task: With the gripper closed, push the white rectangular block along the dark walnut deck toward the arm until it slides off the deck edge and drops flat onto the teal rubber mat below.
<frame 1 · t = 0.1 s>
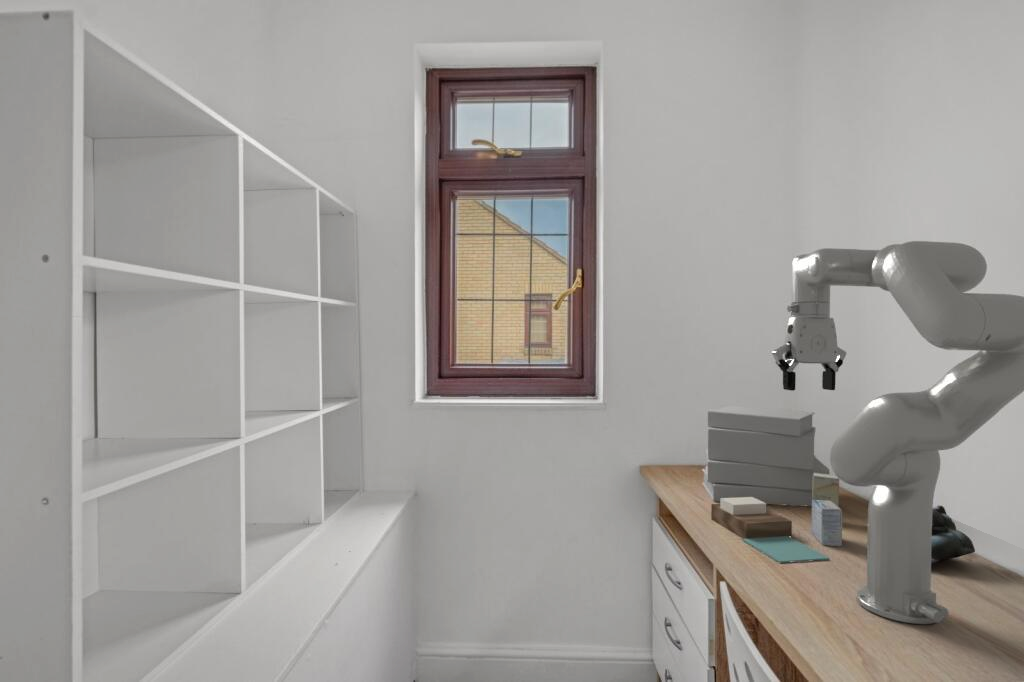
hand: (809, 389, 127), 37 cm above the table, tool pointing down, fingers open, 9 cm apart
medicine box: (826, 541, 138), on the table
skincare box: (824, 522, 153), on the table
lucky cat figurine: (924, 561, 127), on the table
book stack: (762, 495, 178), on the table
white rectangular block: (742, 505, 148), point 5 cm above the table, touching deck
deck: (749, 527, 147), on the table
mat: (783, 549, 132), on the table
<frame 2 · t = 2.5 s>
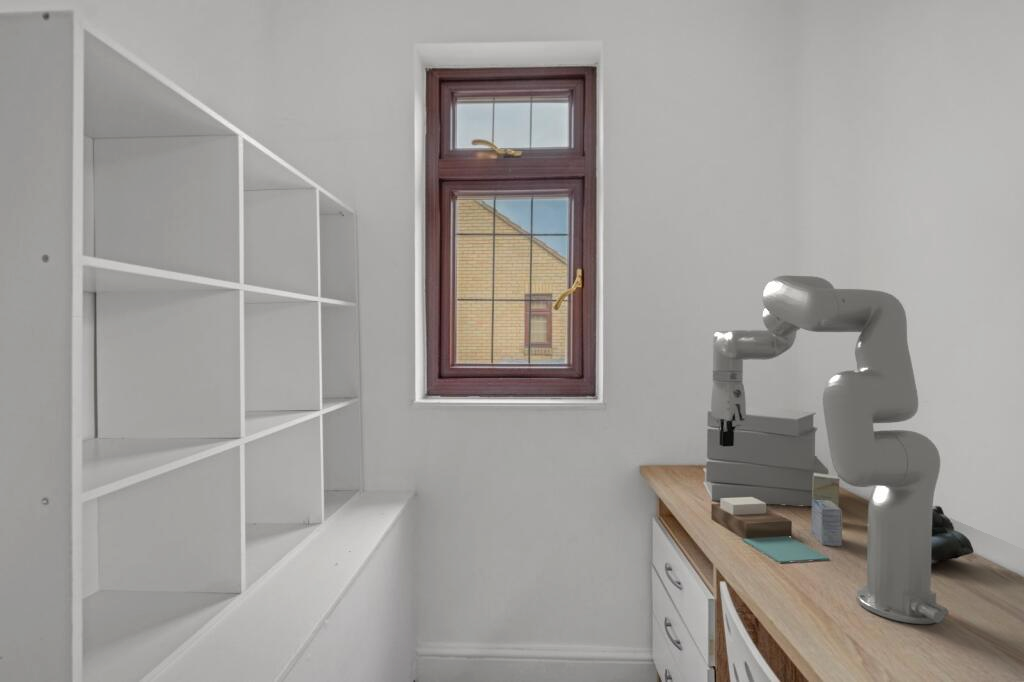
hand: (726, 445, 156), 19 cm above the table, tool pointing down, fingers closed
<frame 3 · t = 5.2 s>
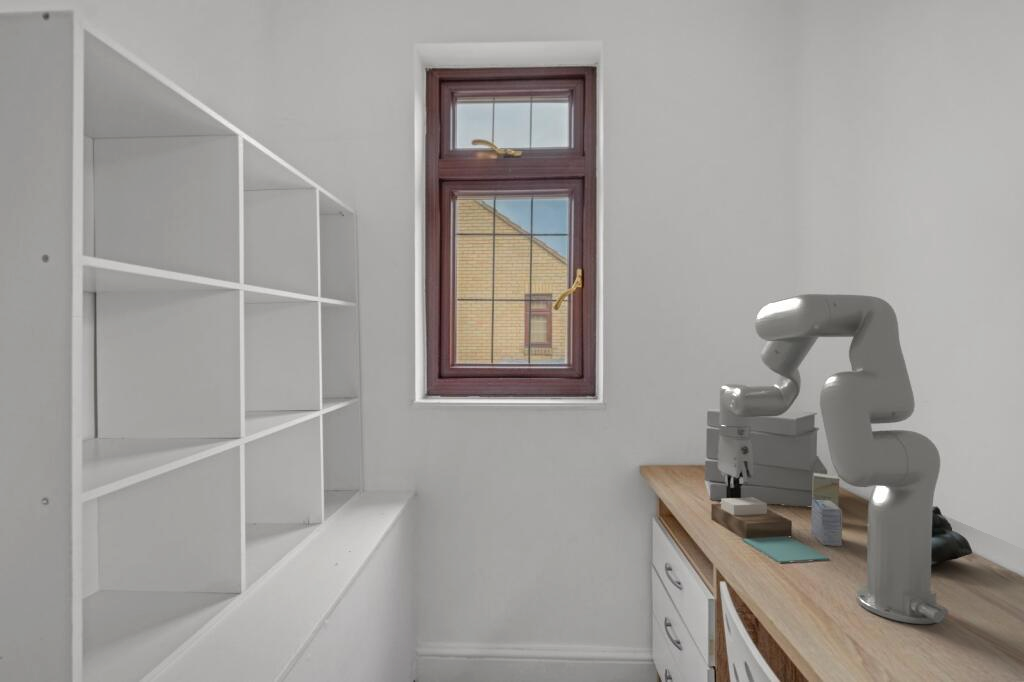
hand: (733, 501, 153), 5 cm above the table, tool pointing down, fingers closed
white rectangular block: (743, 506, 148), point 5 cm above the table, touching deck, gripper
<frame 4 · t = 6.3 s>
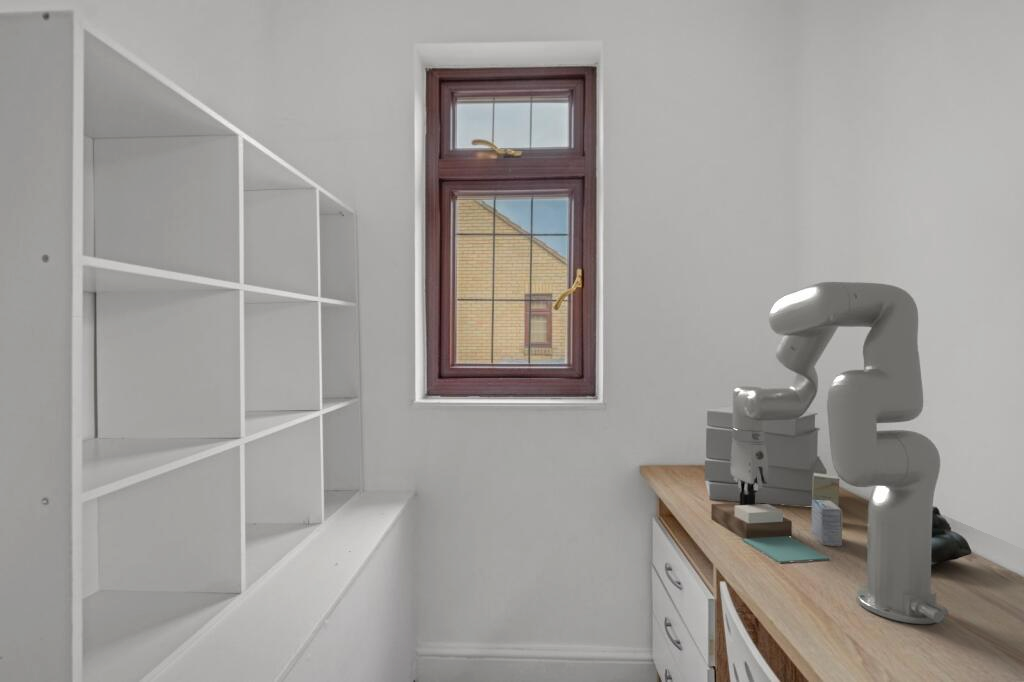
hand: (747, 508, 146), 5 cm above the table, tool pointing down, fingers closed
white rectangular block: (758, 513, 142), point 5 cm above the table, touching gripper
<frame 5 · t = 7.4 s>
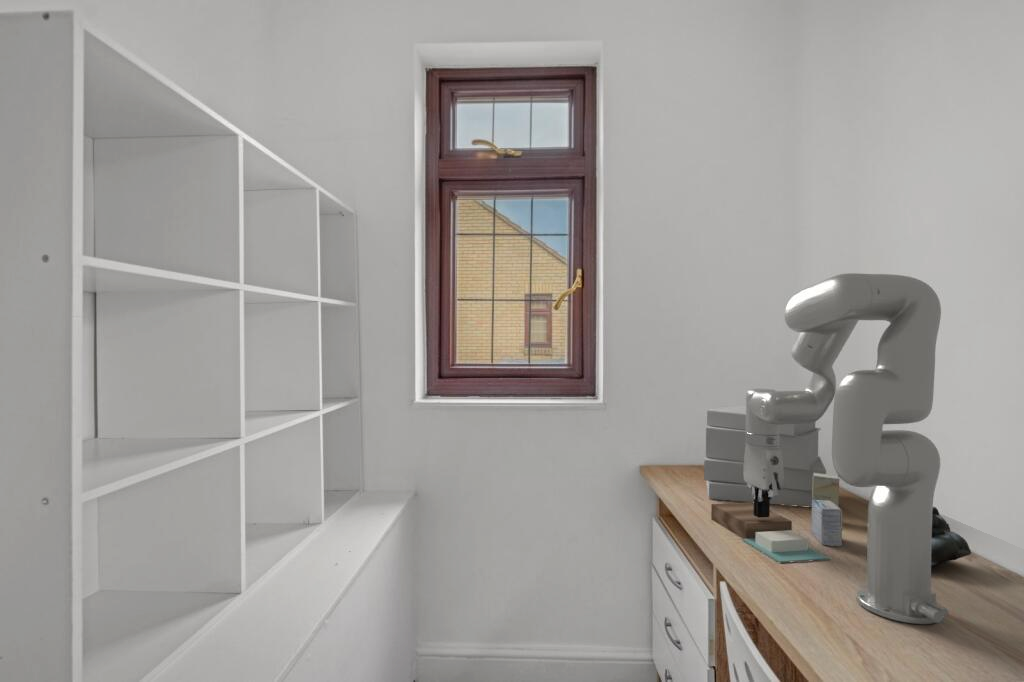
hand: (761, 516, 140), 5 cm above the table, tool pointing down, fingers closed
white rectangular block: (781, 541, 133), point 2 cm above the table, tilted 180°, touching mat
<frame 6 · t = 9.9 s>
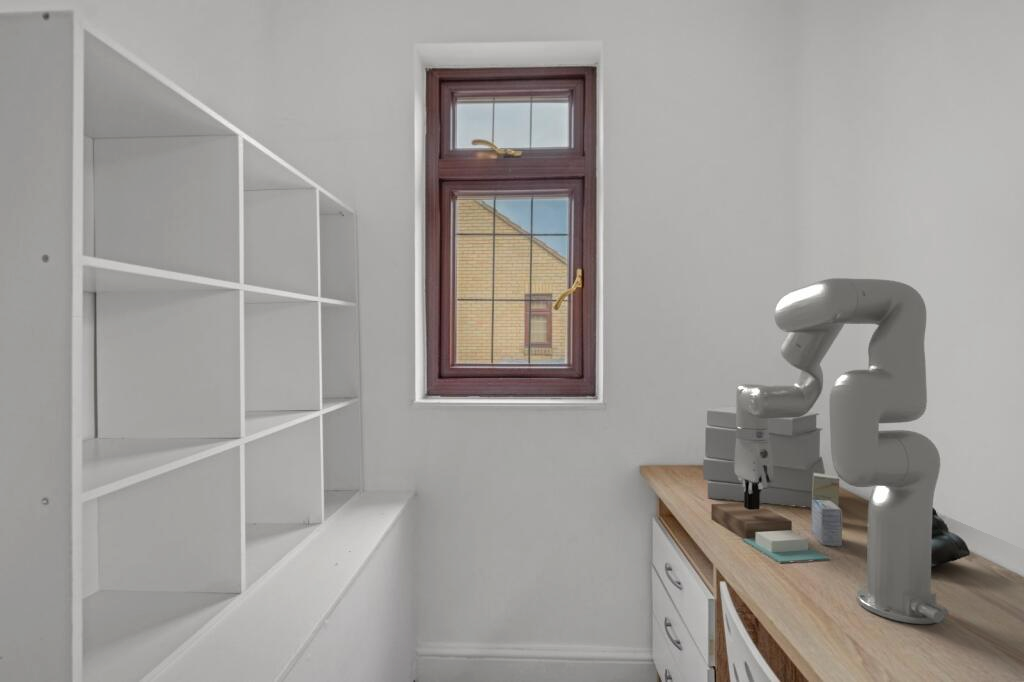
hand: (751, 508, 144), 6 cm above the table, tool pointing down, fingers closed
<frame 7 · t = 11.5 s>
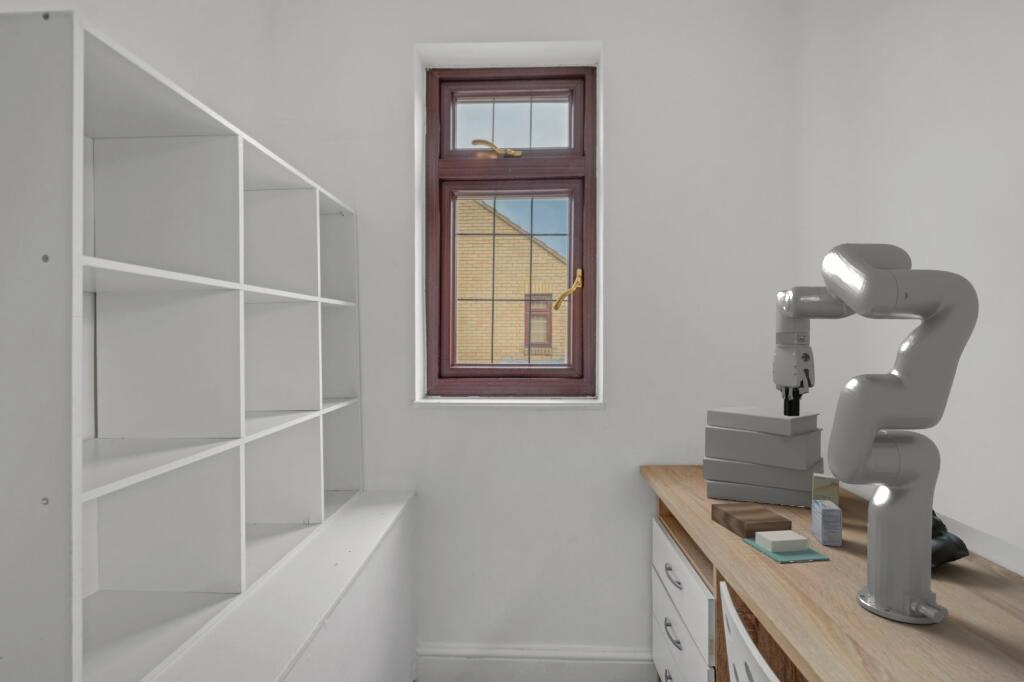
hand: (791, 415, 142), 29 cm above the table, tool pointing down, fingers closed
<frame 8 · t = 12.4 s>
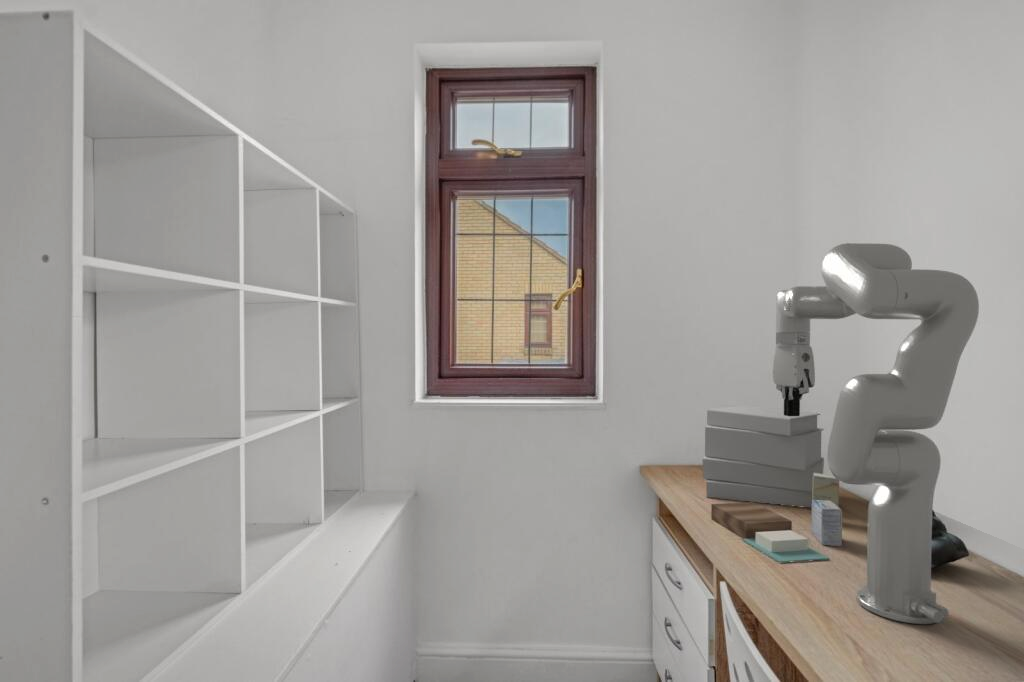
hand: (791, 415, 142), 29 cm above the table, tool pointing down, fingers closed
at the end: white rectangular block inside the target area on the mat (1.0 cm from its centre), point 1.6 cm above the mat's base; white rectangular block point 1.6 cm above the table; the gripper is holding nothing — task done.
